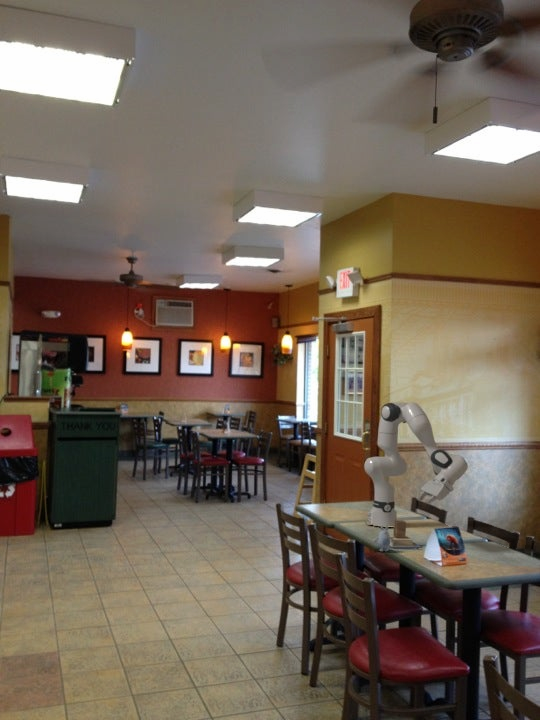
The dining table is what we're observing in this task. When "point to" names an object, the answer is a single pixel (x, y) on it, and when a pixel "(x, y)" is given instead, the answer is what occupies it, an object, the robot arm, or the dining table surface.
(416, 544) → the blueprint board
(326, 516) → the dining table surface
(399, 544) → the oak pedestal
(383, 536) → the toy figure
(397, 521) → the walnut pillar
